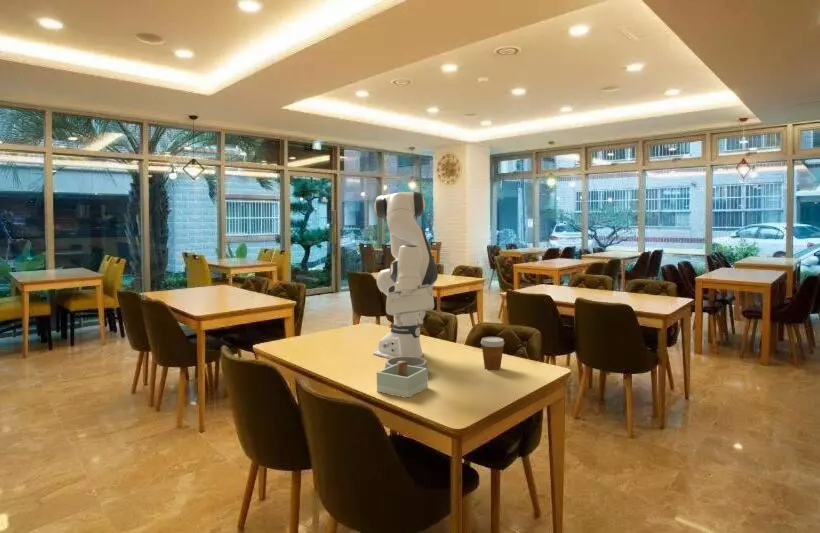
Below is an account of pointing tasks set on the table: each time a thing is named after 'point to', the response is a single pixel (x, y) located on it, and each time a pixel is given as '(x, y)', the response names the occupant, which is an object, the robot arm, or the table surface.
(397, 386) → the socket box
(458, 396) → the table surface
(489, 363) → the disposable coffee cup
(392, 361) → the dog bowl
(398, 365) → the peg
